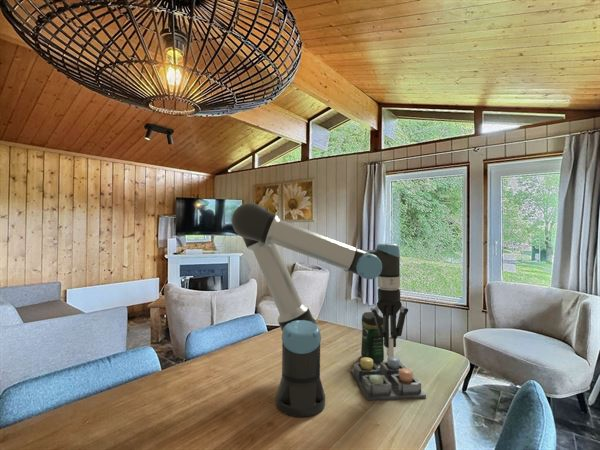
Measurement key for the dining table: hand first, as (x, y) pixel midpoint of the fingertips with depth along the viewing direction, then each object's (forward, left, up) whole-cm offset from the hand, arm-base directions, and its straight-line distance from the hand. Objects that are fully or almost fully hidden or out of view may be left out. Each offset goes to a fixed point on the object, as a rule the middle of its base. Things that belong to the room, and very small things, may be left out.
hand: (390, 356), depth 110 cm
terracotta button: (+3, -5, -6) cm, 9 cm away
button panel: (-2, 0, -9) cm, 9 cm away
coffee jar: (+1, +20, -10) cm, 23 cm away
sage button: (-7, -5, -8) cm, 11 cm away
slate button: (+3, +5, -6) cm, 8 cm away
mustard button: (-7, +5, -6) cm, 10 cm away
